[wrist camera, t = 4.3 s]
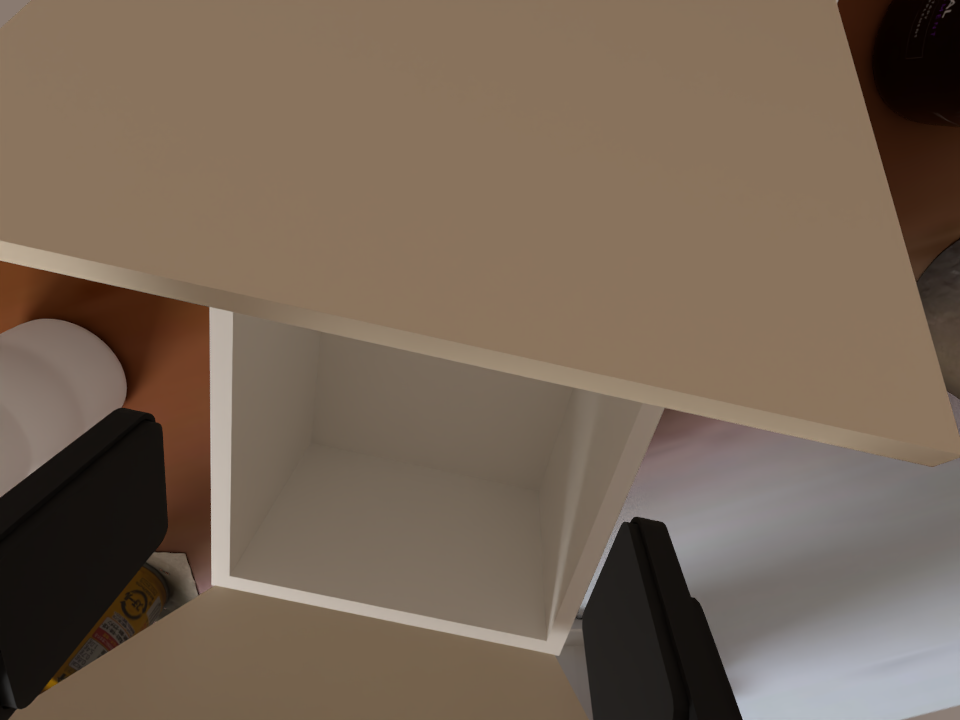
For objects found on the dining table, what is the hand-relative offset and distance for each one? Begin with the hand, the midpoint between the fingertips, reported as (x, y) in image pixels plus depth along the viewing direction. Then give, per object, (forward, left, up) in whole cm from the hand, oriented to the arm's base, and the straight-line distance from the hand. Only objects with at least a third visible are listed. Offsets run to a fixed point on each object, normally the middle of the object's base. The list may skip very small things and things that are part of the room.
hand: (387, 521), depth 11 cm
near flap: (0, -8, -3) cm, 9 cm away
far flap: (0, +10, -3) cm, 10 cm away
